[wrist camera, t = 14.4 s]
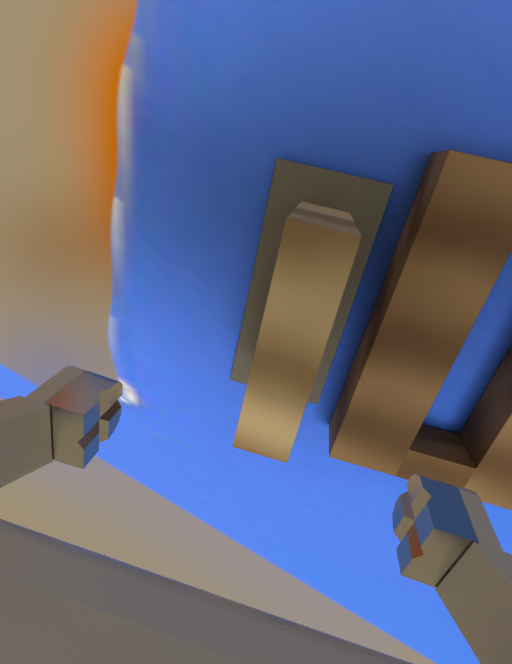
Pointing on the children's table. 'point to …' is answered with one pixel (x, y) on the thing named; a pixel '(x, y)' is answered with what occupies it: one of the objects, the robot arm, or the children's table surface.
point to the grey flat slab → (284, 197)
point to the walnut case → (435, 337)
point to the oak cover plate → (296, 326)
